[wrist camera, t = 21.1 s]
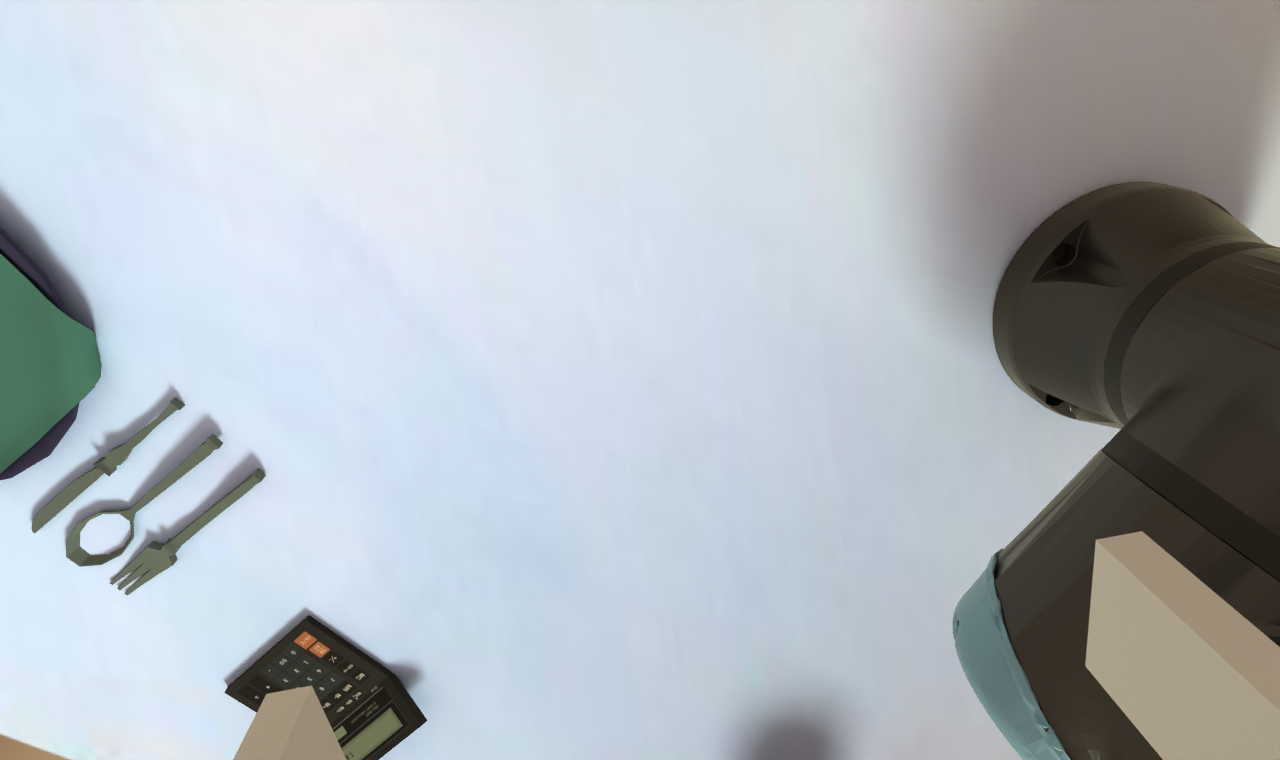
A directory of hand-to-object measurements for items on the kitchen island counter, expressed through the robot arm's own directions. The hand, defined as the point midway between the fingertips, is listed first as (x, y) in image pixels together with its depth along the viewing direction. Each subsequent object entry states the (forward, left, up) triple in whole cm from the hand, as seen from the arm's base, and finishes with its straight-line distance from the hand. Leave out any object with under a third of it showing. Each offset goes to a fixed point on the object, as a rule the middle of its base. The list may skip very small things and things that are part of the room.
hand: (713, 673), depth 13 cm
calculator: (+28, +30, -35) cm, 54 cm away
